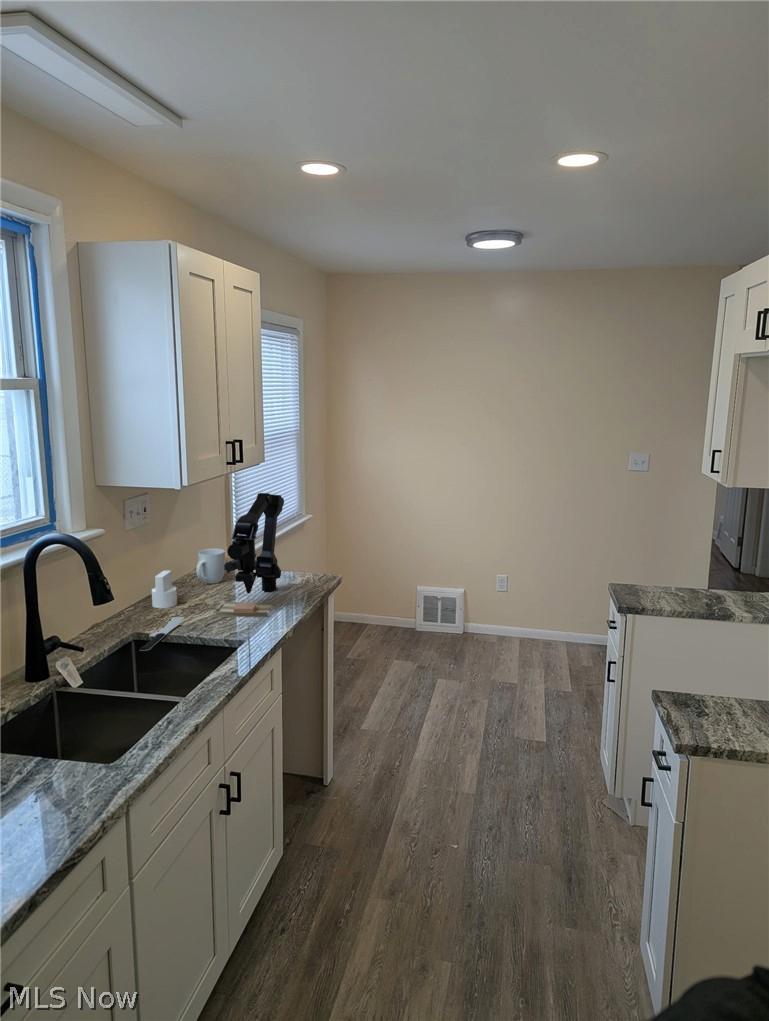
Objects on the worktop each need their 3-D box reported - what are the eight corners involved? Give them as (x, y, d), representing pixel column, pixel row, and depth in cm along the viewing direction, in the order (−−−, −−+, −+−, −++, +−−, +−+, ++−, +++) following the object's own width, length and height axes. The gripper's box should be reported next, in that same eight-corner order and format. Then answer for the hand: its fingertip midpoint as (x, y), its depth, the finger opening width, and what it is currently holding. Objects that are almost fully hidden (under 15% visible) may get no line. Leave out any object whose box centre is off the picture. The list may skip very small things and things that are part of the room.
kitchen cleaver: (165, 615, 244) (192, 614, 243) (166, 620, 244) (192, 618, 243) (121, 649, 214) (151, 647, 212) (122, 654, 214) (152, 652, 213)
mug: (209, 589, 278) (208, 558, 275) (187, 585, 282) (186, 555, 279) (231, 579, 291) (230, 550, 289) (210, 576, 295) (209, 547, 293)
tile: (237, 602, 253) (233, 608, 246) (256, 602, 253) (253, 608, 246) (237, 606, 253) (233, 613, 246) (256, 606, 253) (253, 613, 246)
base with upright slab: (172, 608, 254) (170, 577, 251) (148, 607, 254) (146, 576, 252) (180, 601, 262) (179, 570, 260) (157, 600, 263) (156, 570, 261)
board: (225, 604, 258) (225, 598, 258) (273, 604, 259) (273, 598, 258) (216, 619, 243) (216, 612, 242) (267, 619, 243) (266, 612, 242)
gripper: (230, 546, 262) (231, 585, 265) (220, 559, 243) (221, 601, 247) (259, 546, 262) (260, 585, 265) (251, 559, 244) (252, 601, 247)
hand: (248, 593), depth 256 cm, fingers closed
